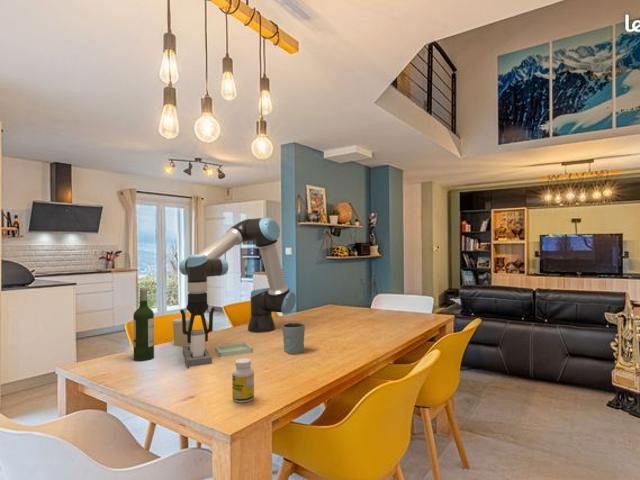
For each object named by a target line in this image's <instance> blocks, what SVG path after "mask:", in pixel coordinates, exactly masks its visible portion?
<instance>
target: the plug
mask: <svg viewBox="0 0 640 480" xmlns="http://www.w3.org/2000/svg"><path fill="white" fill-rule="evenodd" d="M203 333H204V329H203V328H200V329H192V335H193V352H192V356H193V357H200V356H204V338H203Z"/></svg>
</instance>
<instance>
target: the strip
mask: <svg viewBox="0 0 640 480" xmlns="http://www.w3.org/2000/svg"><path fill="white" fill-rule="evenodd" d="M182 355H183V359H184V361H185V364H186V368H187V369H190V368H192V367H198V366H199V367H200V366H205V365H206V366H207V365H212V363H213V362H212V361H213V357H212V355H211V354H210V352H209V351H208V349H207V347H206V346H205V350H204V356H200V357H193V356H192V352H191V351H190V350H189V345H186V346H182Z"/></svg>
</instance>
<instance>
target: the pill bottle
mask: <svg viewBox="0 0 640 480" xmlns="http://www.w3.org/2000/svg"><path fill="white" fill-rule="evenodd" d="M234 364H235V368H234V369H233V370H232V373H231V377H232V380H231V381H232V382H231V383H232V395H231V396H232V400H233V401H234V402H235V403H248V402H250V401H252V400H253V399H254V398H255V371H254V368H252V361H251V359H250V358H245V357H244V358H239V359H236V360H235V362H234Z"/></svg>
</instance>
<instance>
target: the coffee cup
mask: <svg viewBox="0 0 640 480" xmlns="http://www.w3.org/2000/svg"><path fill="white" fill-rule="evenodd" d="M189 322H190V317H186V331H188V327H189ZM172 329H173V330H172V334H173V343H174V346H175V347H183V346H189V343H188V342H187V335H186V334H183V331H182V317H179V318H174V319H173V320H172Z"/></svg>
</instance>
